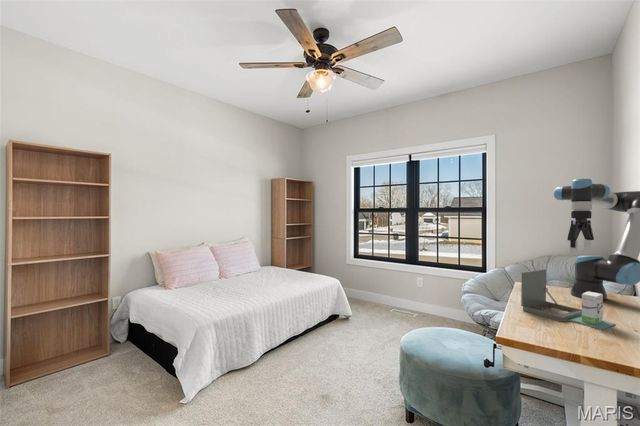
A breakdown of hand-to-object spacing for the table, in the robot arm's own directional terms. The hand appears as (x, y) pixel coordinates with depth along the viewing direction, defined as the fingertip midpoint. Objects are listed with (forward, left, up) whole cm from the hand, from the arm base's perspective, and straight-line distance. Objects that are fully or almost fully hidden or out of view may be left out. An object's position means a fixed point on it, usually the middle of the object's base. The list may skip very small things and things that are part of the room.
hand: (580, 253), depth 145 cm
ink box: (+20, +12, -26) cm, 35 cm away
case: (+20, -2, -27) cm, 33 cm away
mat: (+20, +12, -27) cm, 35 cm away
